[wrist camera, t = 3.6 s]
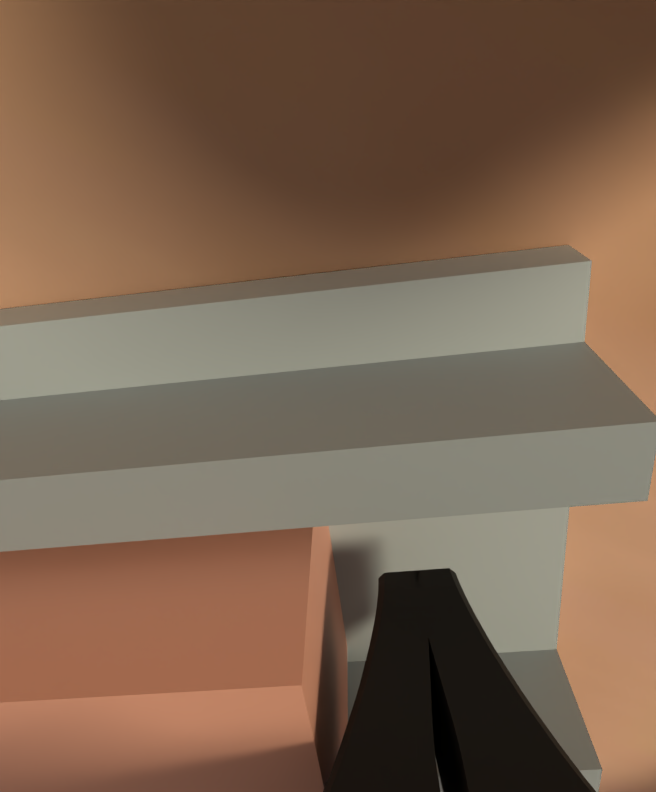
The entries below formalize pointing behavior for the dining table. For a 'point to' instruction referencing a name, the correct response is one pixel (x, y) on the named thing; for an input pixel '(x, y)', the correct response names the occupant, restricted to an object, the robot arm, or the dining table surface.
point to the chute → (339, 434)
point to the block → (173, 665)
